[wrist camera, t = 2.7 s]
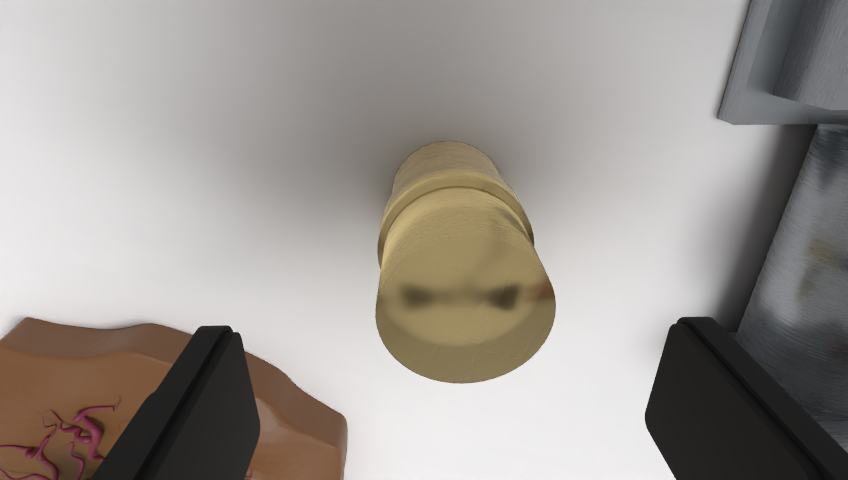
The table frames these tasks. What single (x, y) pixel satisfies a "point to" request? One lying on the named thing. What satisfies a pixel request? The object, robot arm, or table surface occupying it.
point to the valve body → (801, 201)
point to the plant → (136, 403)
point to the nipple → (459, 270)
